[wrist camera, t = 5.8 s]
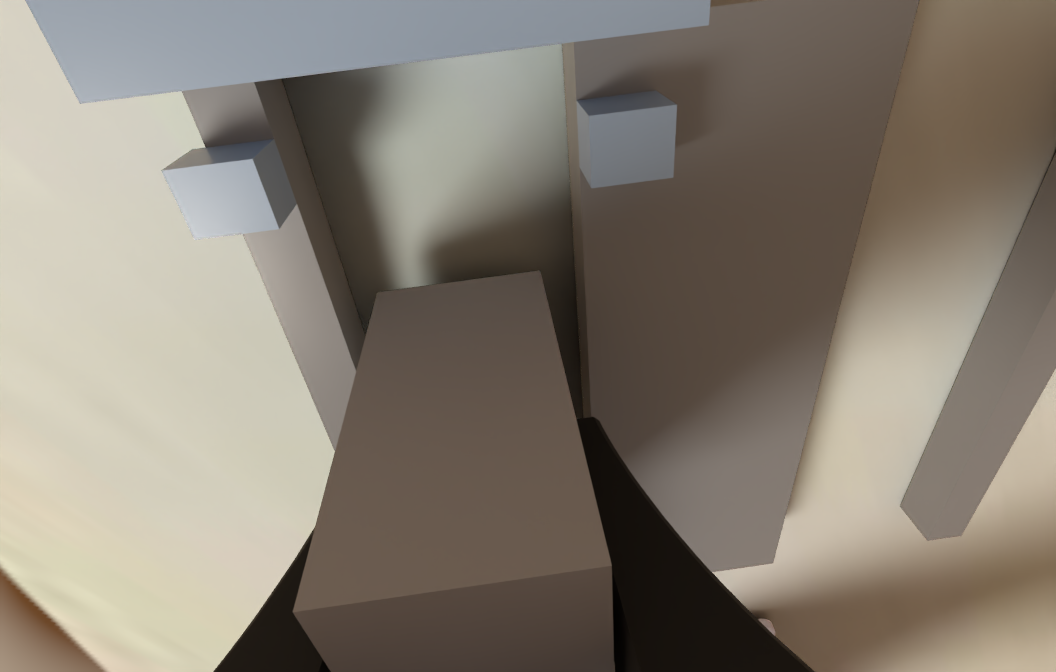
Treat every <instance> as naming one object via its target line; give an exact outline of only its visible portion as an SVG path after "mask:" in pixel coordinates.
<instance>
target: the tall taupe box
mask: <svg viewBox="0 0 1056 672" xmlns="http://www.w3.org/2000/svg"><path fill="white" fill-rule="evenodd" d="M293 613H294V615H295V617H296V618H297V620H298V621H299V623H300V624H301V626H302V628H303V629H304V631H305V632H306V634H307V635H308V637H309V638H310V640H311V642H312V643H313V645H314V646H315V648H316V649H317V651H318V653H319V654H320V656H321V657H322V659H323V660H324V662H325V663H326V665H327V667H328V668H329V670H330V671H331V672H615V663H614V640H613V595H612V564H611V560H610V556H609V552H608V548H607V544H606V539H605V535H604V531H603V527H602V523H601V519H600V515H599V511H598V507H597V502H596V498H595V494H594V490H593V486H592V482H591V478H590V474H589V469H588V465H587V461H586V457H585V453H584V449H583V445H582V441H581V437H580V432H579V428H578V424H577V420H576V416H575V412H574V408H573V404H572V399H571V395H570V391H569V387H568V383H567V379H566V375H565V371H564V367H563V362H562V358H561V354H560V350H559V346H558V342H557V338H556V334H555V329H554V325H553V321H552V317H551V313H550V309H549V305H548V301H547V297H546V292H545V288H544V284H543V280H542V276H541V272H540V271H532V272H525V273H517V274H510V275H502V276H495V277H487V278H480V279H472V280H465V281H457V282H450V283H442V284H435V285H427V286H420V287H412V288H405V289H397V290H390V291H382V292H377V295H376V299H375V303H374V306H373V310H372V314H371V318H370V322H369V325H368V329H367V333H366V337H365V340H364V344H363V348H362V352H361V356H360V359H359V363H358V367H357V371H356V375H355V378H354V382H353V386H352V390H351V393H350V397H349V401H348V405H347V409H346V412H345V416H344V420H343V424H342V427H341V431H340V435H339V439H338V443H337V446H336V450H335V454H334V458H333V462H332V465H331V469H330V473H329V477H328V480H327V484H326V488H325V492H324V496H323V499H322V503H321V507H320V511H319V515H318V518H317V522H316V526H315V530H314V533H313V537H312V541H311V545H310V549H309V552H308V556H307V560H306V564H305V567H304V571H303V575H302V579H301V583H300V586H299V590H298V594H297V598H296V602H295V605H294V609H293Z"/></svg>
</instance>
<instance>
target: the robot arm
mask: <svg viewBox="0 0 1056 672" xmlns="http://www.w3.org/2000/svg"><path fill="white" fill-rule="evenodd" d="M576 420H577V424H578V428H579V432H580V437H581V441H582V445H583V449H584V453H585V457H586V461H587V465H588V469H589V474H590V478H591V482H592V486H593V490H594V494H595V498H596V502H597V507H598V511H599V515H600V519H601V523H602V527H603V531H604V535H605V539H606V544H607V548H608V552H609V556H610V560H611V564H612V595H613V640H614V663H615V672H814V671H813V670H812V669H811V668H810V667H809V666H808V665H807V664H805V663H804V662H803V661H802V660H801V659H800V658H799V657H798V656H796V655H795V654H794V653H793V652H792V651H791V650H790V649H789V648H788V647H786V646H785V645H784V644H783V643H782V642H781V641H780V640H779V639H778V638H777V637H775V629H774V627H773V624H772V622H771V621H770V620H768V619H757V618H756V617H755V616H754V615H753V614H752V613H751V612H750V611H749V610H748V609H747V608H746V607H745V606H744V605H743V604H742V603H741V602H740V601H739V600H738V599H737V598H736V597H735V596H734V595H733V594H732V593H731V592H730V591H729V590H728V589H727V588H726V587H725V586H724V585H723V584H722V583H721V582H720V581H719V579H718V578H717V577H716V576H715V575H714V574H713V573H712V572H711V571H710V570H709V569H708V568H707V566H706V565H705V564H704V563H703V562H702V561H701V560H700V559H699V558H698V556H697V555H696V554H695V553H694V552H693V551H692V549H691V548H690V547H689V546H688V545H687V544H686V542H685V541H684V540H683V539H682V538H681V537H680V535H679V534H678V533H677V532H676V531H675V530H674V528H673V527H672V526H671V525H670V523H669V522H668V521H667V520H666V518H665V517H664V516H663V515H662V513H661V512H660V511H659V509H658V508H657V507H656V506H655V504H654V503H653V502H652V500H651V499H650V498H649V496H648V495H647V494H646V492H645V491H644V490H643V488H642V487H641V486H640V484H639V483H638V482H637V480H636V479H635V477H634V476H633V475H632V473H631V472H630V470H629V469H628V467H627V466H626V464H625V463H624V461H623V460H622V458H621V457H620V455H619V454H618V452H617V451H616V449H615V447H614V446H613V444H612V443H611V441H610V439H609V438H608V436H607V434H606V432H605V430H604V429H603V427H602V425H601V423H600V421H599V420H598V419H596V418H595V417H587V418H580V419H576ZM314 530H315V528H314V529H313V531H312V533H311V534H310V536H309V537H308V539H307V541H306V542H305V544H304V545H303V547H302V549H301V550H300V552H299V553H298V555H297V557H296V558H295V560H294V561H293V563H292V564H291V566H290V567H289V569H288V570H287V572H286V573H285V575H284V576H283V577H282V579H281V580H280V582H279V583H278V585H277V586H276V588H275V589H274V591H273V592H272V593H271V595H270V596H269V598H268V599H267V601H266V602H265V604H264V605H263V607H262V608H261V609H260V611H259V612H258V614H257V615H256V616H255V618H254V619H253V621H252V622H251V623H250V625H249V626H248V627H247V629H246V630H245V631H244V633H243V634H242V635H241V637H240V638H239V639H238V641H237V642H236V643H235V645H234V646H233V647H232V649H231V650H230V651H229V653H228V654H227V655H226V656H225V658H224V659H223V660H222V661H221V663H220V664H219V665H218V667H217V668H216V669H215V670H214V672H331V671H330V670H329V668H328V667H327V665H326V663H325V662H324V660H323V659H322V657H321V656H320V654H319V653H318V651H317V649H316V648H315V646H314V645H313V643H312V642H311V640H310V638H309V637H308V635H307V634H306V632H305V631H304V629H303V628H302V626H301V624H300V623H299V621H298V620H297V618H296V617H295V615H294V613H293V609H294V605H295V602H296V598H297V594H298V590H299V586H300V583H301V579H302V575H303V571H304V567H305V564H306V560H307V556H308V552H309V549H310V545H311V541H312V537H313V533H314Z"/></svg>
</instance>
